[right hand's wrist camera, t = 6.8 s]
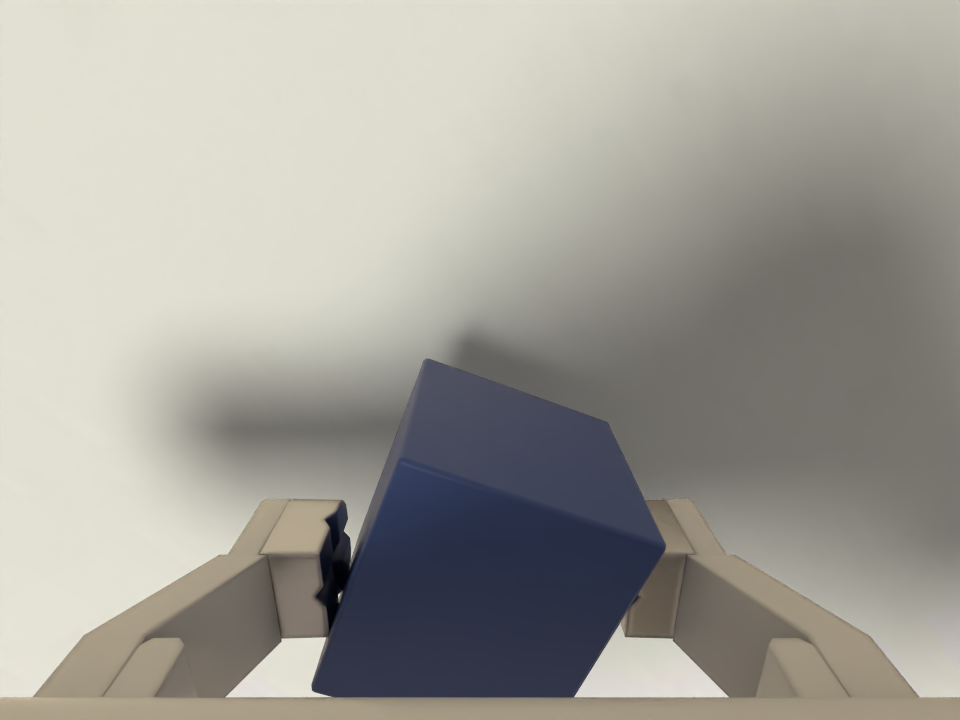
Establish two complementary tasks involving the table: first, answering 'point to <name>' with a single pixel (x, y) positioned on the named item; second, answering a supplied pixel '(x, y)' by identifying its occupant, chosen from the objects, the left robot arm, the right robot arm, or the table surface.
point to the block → (489, 550)
